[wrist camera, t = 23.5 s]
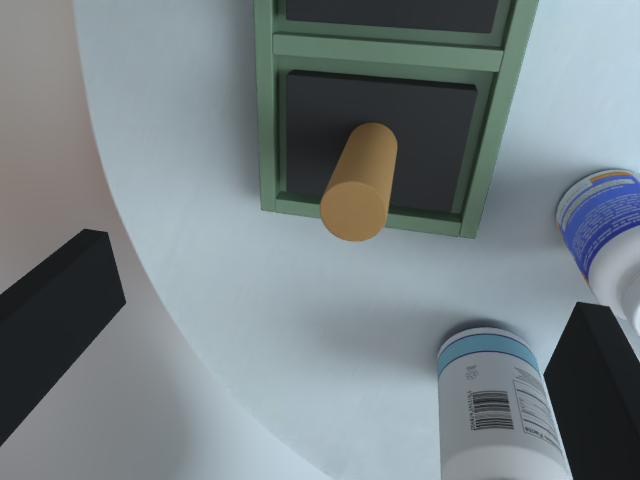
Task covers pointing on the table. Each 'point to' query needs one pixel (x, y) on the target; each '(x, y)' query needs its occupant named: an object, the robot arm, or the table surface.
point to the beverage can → (494, 410)
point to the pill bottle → (606, 238)
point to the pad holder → (396, 62)
